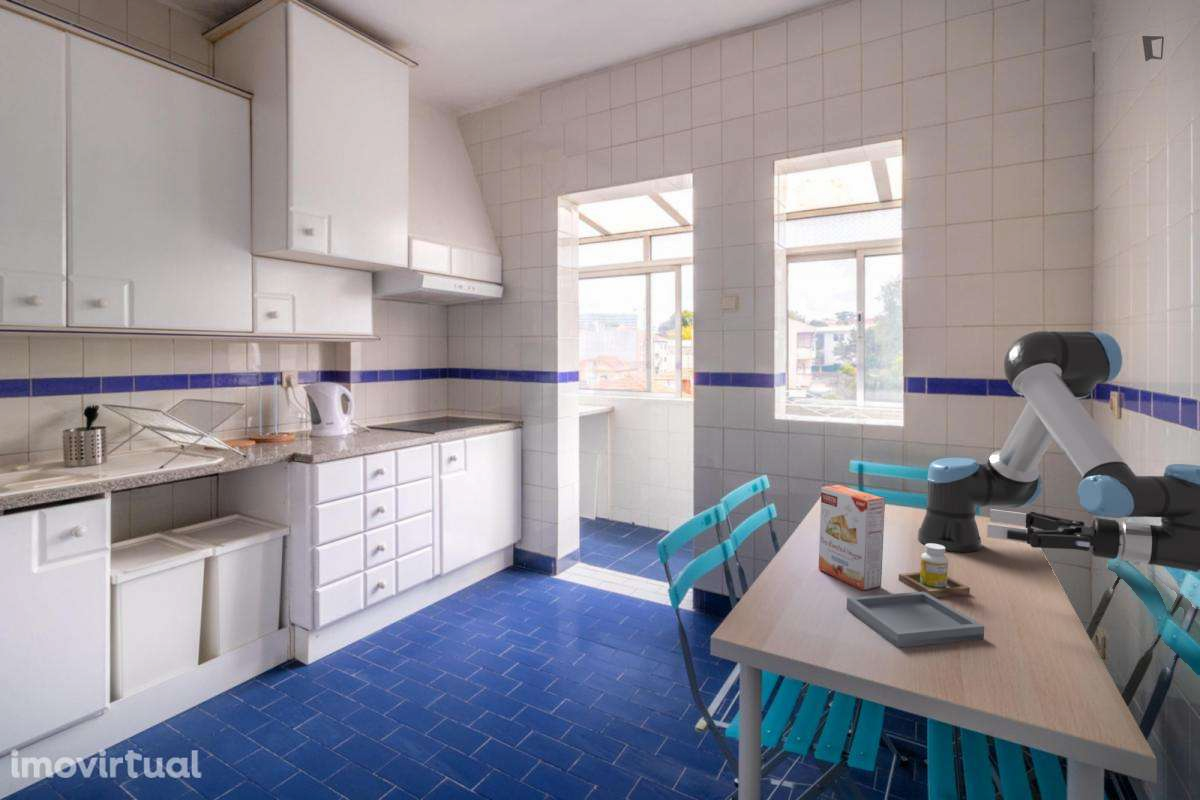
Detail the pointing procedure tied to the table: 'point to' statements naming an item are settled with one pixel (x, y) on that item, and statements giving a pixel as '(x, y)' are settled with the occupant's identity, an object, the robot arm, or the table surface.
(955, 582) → the bottle holder
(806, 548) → the table surface
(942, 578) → the supplement bottle
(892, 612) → the tray
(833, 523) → the cracker box
